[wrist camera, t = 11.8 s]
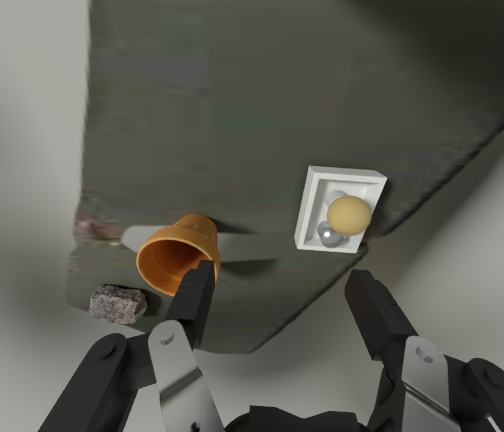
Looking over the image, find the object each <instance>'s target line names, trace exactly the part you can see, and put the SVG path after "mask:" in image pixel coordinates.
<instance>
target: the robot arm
mask: <svg viewBox="0 0 504 432" xmlns="http://www.w3.org/2000/svg"><path fill="white" fill-rule="evenodd" d="M214 288H215V267H214V260H200V262H199V264H198V267H197V269H194V268H190V269H189V270H188V271H187V272H186V273H185V274H184V276H183V278H182V280H181V282H180V285H179V287H178V289H177V292H176V294H175V296H174V298H173V300H172V303H171V305H170V307H169V310H168V312H167V314H166V316H165V318H164V320H163V321H162V323H160V324H159V325H158V326H156V327H155V328H154V329H153V330H152V331H151V332H148V333H146V334H142V335H139V336H135V337H131V338H127V339H126V338H125V336H124V335H122V334H120V333H113V334H109V335H107V336H105V337H103V338H101V339H100V340H98V341H97V342H96V343H95V344H94V345H93V346H92V347H91V348H90V350H89V351H88V353H87V354H86V356H85V357H84V359H83V361H82V362H81V364H80V365H79V367H78V368H77V370H76V372H75V373H74V375H73V376H72V378H71V380H70V381H69V383H68V384H67V386H66V388H65V390H64V391H63V392H62V394H61V395H60V397H59V399H58V400H57V402H56V403H55V405H54V407H53V408H52V410H51V411H50V413H49V415H48V416H47V418H46V419H45V421H44V422H43V424H42V426H41V427H40V429H39V430H38V432H123V429H124V427H125V424H126V421H127V419H128V416H129V413H130V411H131V408H132V405H133V403H134V400H135V397H136V395H137V392H138V389H140V388H143V387H146V386H149V385H152V384H155V383H157V385H158V389H159V393H160V406H161V411H162V415H163V420H164V424H165V428H166V432H496V431H495V429H494V428H493V426H492V425H491V423H490V422H489V420H488V419H487V418H488V417H490V416H491V417H492V418H493V420H494V421H495V423H496V425H497V426H498V427H499V429H500V430H501V432H504V371H503V370H502V369H501V368H499V367H498V366H496V365H495V364H493V363H491V362H489V361H487V360H484V359H481V358H473V359H471V360H470V361H469V362H468V363H465V362H463V361H460V360H458V359H455V358H452V357H449V356H446V355H444V354H442V353H441V351H440V350H439V349H438V348H437V347H436V346H434V345H433V344H432V343H431V342H429V341H428V340H426V339H424V338H422V337H419V335H418V334H417V332H416V331H415V329H414V328H413V327H412V325H411V323H410V322H409V320H408V319H407V317H406V316H405V315H404V313H403V311H402V310H401V308H400V307H399V306H398V304H397V302H396V301H395V300H394V299H393V296H392V295H391V293H390V292H389V290H388V289H387V288H386V287H385V286H384V285H383V284H382V283H381V282H380V281H378V280H375V279H374V278H373V276H372V274H371V273H370V272H369V271H368V270H356V269H353V270H352V272H351V274H350V276H349V279H348V281H347V283H346V286H345V297H346V300H347V302H348V305H349V307H350V309H351V312H352V314H353V316H354V319H355V321H356V323H357V326H358V328H359V330H360V333H361V335H362V337H363V340H364V342H365V345H366V347H367V349H368V352H369V354H370V356H371V358H372V360H374V361H382V363H383V364H384V368H383V370H382V374H381V378H380V383H379V388H378V393H377V398H376V402H375V407H374V410H373V413H372V415H371V416H370V419H369V421H368V424H367V427H366V426H364V425H363V424H361V423H359V422H358V421H357V418H356V415H355V413H350V412H337V411H328V412H324V413H321V414H318V415H315V416H312V417H308V418H300V417H297V416H295V415H293V414H290V413H288V412H286V411H283V410H281V409H279V408H276V407H264V406H251V405H250V411H249V413H246V414H243V415H241V416H239V417H237V418H236V419H234V420H233V421H232V422H230V423H229V424H228V425H227V426H226V427H225V428H224V426H223V424H222V422H221V419H220V416H219V414H218V411H217V409H216V406H215V404H214V401H213V399H212V396H211V394H210V392H209V389H208V387H207V384H206V381H205V379H204V377H203V374H202V372H201V371H200V370H199V367H198V365H197V363H196V360H195V357H194V355H193V348H200V345H201V341H202V337H203V333H204V329H205V325H206V321H207V317H208V313H209V308H210V304H211V300H212V296H213V292H214Z"/></svg>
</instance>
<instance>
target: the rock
mask: <svg viewBox="0 0 504 432" xmlns="http://www.w3.org/2000/svg"><path fill="white" fill-rule="evenodd" d="M146 308H147V303H146V298H145V294H143V293H142V292H141V291H140V289H134V290H131V289H123V288H118V287H117V286H109V285H105V286H103V285H100V286H99V288H98V289H97V290H96V292H95V293H94V294H92V297H91V303H90V307H89V311H90V312H91V315H92V316H93V317H94V318H98V319H104V320H106V321H108V322H110V323H119V324H120V325H122V324H126V323H132V324H133V323H135V322H137V321H138V320H139V319H140V318H141V317H142V316H143V314H144V313H145V312H146Z"/></svg>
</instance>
